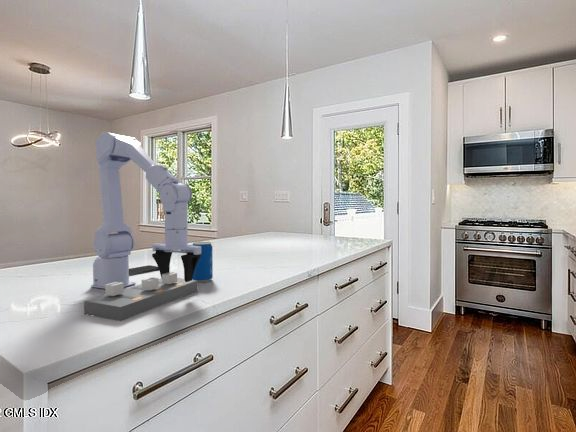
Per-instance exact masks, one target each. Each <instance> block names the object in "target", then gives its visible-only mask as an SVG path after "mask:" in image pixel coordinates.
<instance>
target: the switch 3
mask: <svg viewBox="0 0 576 432" xmlns="http://www.w3.org/2000/svg"><path fill="white" fill-rule="evenodd" d="M177 278H178V272H174V271H172V272H171V271H170V272H169V273H165V274H162V283H164V284H172V283H175V282H177Z"/></svg>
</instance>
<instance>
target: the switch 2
mask: <svg viewBox="0 0 576 432" xmlns="http://www.w3.org/2000/svg"><path fill="white" fill-rule="evenodd" d="M158 279H159V277H147V278H144V279H141V284H142V290H149V291H150V290H153V289H156V288H158Z"/></svg>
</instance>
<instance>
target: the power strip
mask: <svg viewBox="0 0 576 432" xmlns="http://www.w3.org/2000/svg"><path fill="white" fill-rule="evenodd" d="M198 290H199V289H198V282H197V280H192V281H189V282H185V279H184V278H178V277H177V282H175V283H172V284H164V283H162V278H161V277H160V278H158V288H156V289H153V290H150V291H149V290H142V283H141V284H137V285H134V286H133V285H132V286H131V287H128V288H127V287H126V288H124V293H122V294H118V295H115V296H110V295H105V294H103V295H99V296H96V297H92V298H89V299H86V300H83V314H84V315H86V314H88V315H87V316H91V315H93V317H98V318H102V319H103V318H104V319H108V320H114V321H117V322H118V321H119V322H122V321H125V320H128V319H129V318H132V317H135V316H137V315H140V314H143V313H145V312H147V311H151V310H153V309H155V308H158V307H161V306H163V305H166V304H168V303H170V302H173V301H176V300H178V299H180V298H184V297H185V296H188V295H192V294H195V293H197V292H198Z"/></svg>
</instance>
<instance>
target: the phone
mask: <svg viewBox="0 0 576 432" xmlns="http://www.w3.org/2000/svg"><path fill="white" fill-rule="evenodd" d="M156 271H159V268H158V265H149V264H148V265H143V266H138V267H131V268H130V267H129V277H131V276H137V275H141V274H147V273H150V272H156Z"/></svg>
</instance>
